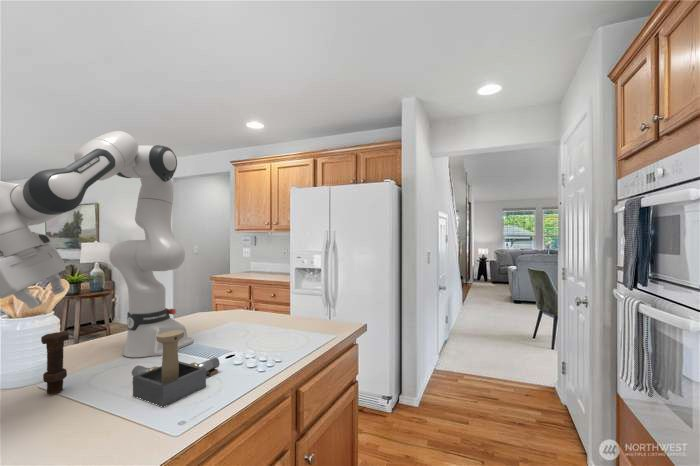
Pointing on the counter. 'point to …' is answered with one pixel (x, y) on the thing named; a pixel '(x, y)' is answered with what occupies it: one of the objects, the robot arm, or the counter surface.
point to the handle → (170, 354)
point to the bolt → (54, 361)
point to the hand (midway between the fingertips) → (49, 299)
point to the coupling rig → (171, 382)
